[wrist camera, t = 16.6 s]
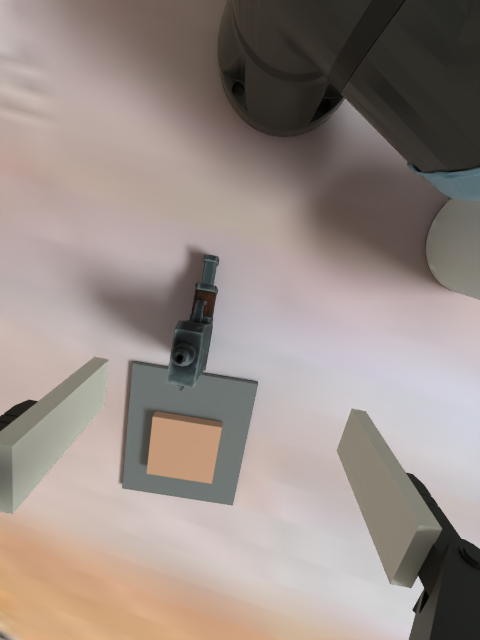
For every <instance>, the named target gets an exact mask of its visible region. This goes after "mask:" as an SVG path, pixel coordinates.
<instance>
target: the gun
mask: <svg viewBox="0 0 480 640" xmlns="http://www.w3.org/2000/svg"><path fill="white" fill-rule="evenodd" d="M204 262H205V265H204V271H203V277H202V282H201V283H197V284H196V285H195V289H196V290H195V296H194V302H193V308H192V314H190V320H187V321H179V322H178V324H177V326H176V328H175V333H174V339H173V345H172V350H171V356H170V362H169V368H168V374H167V379H166V383H169V384H175V385H177V386H179V391H182V390H183V388H184V386H187V387H193V388H194V387H195V385H196V383H197V381H198V379H199V378H200V376H201V374H202V372H203V370H205V369H206V364H207V358H208V352H209V346H210V340H211V335H212V329H213V324H212V323H213V312H214V306H215V300H216V295H217V294H218V289H217V287H216V286H214V285H213V284H214V279H215V273H216V267H217V266H218V264H219V257H217V256H213V255H207V254H205V255H204Z"/></svg>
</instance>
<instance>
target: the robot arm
mask: <svg viewBox="0 0 480 640" xmlns="http://www.w3.org/2000/svg"><path fill="white" fill-rule="evenodd" d="M218 60H219V67H220V74H221V79H222V83H223V87H224V90H225V92H226V95H227V97H228V99H229V101H230V103H231V104H232V106H233V108H234V109H235V110H236V112H237V113H238V114H239V115H240V117H241V118H242V119H243V120H244V121H246V122H247V123H248V124H249V125H251V126H252V127H254V128H255V129H257V130H259V131H261V132H263V133H266V134H269V135H274V136H282V137H288V136H296V135H300V134H304V133H306V132H309V131H311V130H313V129H315V128H317V127H318V126H320V125H321V124H322V123H324V122H325V121H326V120H327V119H329V118H330V117H331V116H332V115H333V114H334V112H335V111H336V110H337V109H338V107H339V106H340V105H341V103H342V102H343V100H344V99H346V100H347V101H348V102H349V103H350V104H351V105H352V106H353V107H354V108H355V109H356V110H357V111H358V112H359V113H360V114H361V115H362V116H363V117H364V118H365V119H366V120H367V121H368V122H369V123H370V124H371V125H372V126H373V127H374V128H375V129H376V130H377V131H378V132H379V133H380V134H381V135H382V136H383V137H384V138H385V139H386V140H387V141H388V142H389V143H390V144H391V145H392V146H393V147H394V148H395V149H396V150H397V151H398V152H399V153H400V154H401V155H402V156H403V157H404V158H405V160H406V161H407V165H408V167H409V168H410V169H411V170H412V171H413V172H414V173H416V174H418V175H420V176H423V177H424V178H425V179H426V180H428V181H429V182H430V183H431V184H432V185H433V186H434V187H435V188H436V189H437V190H439V191H440V192H441V193H442V194H444V195H446V196H448V197H450V198H457V199H459V200H465V201H478V200H480V0H228V2H227V5H226V7H225V10H224V13H223V16H222V20H221V24H220V29H219V37H218ZM108 366H109V360H108V359H103V358H98V357H94V358H92V359H91V360H90V361H89V362H87V363H86V364H85V365H84V366H82V367H81V368H80V369H79V370H77V371H76V372H75V373H74V374H72V375H71V376H70V377H68V378H67V379H66V380H65V381H63V382H62V383H61V384H60V385H58V386H57V387H56V388H55V389H53V390H52V391H51V392H50V393H48V394H47V395H46V396H44V397H43V398H42V399H41V400H39V401H33V400H27V401H25V402H22V403H20V404H17V405H15V406H13V407H12V408H11V409H9V410H8V411H7V412H5V413H4V415H1V416H0V512H5V513H11V514H13V513H14V512H15V511H16V510H17V509H18V507H19V506H20V505H21V504H22V503H23V501H24V500H25V499H26V498H27V497H28V496H29V494H30V493H31V492H32V491H33V490H34V488H35V487H36V486H37V485H38V484H39V482H40V481H41V480H42V479H43V478H44V477H45V475H46V474H47V473H48V472H49V471H50V469H51V468H52V467H53V466H54V465H55V464H56V462H57V461H58V460H59V459H60V458H61V456H62V455H63V454H64V453H65V452H66V451H67V449H68V448H69V447H70V446H71V445H72V443H73V442H74V441H75V440H76V439H77V438H78V436H79V435H80V434H81V433H82V432H83V430H84V429H85V428H86V427H87V426H88V425H89V423H90V422H91V421H92V420H93V419H94V417H95V416H96V415H97V414H98V413H99V412H100V410H101V409H102V408H103V407H104V406H105V400H106V388H107V377H108ZM337 452H338V455H339V457H340V460H341V462H342V465H343V467H344V470H345V472H346V475H347V477H348V480H349V482H350V485H351V487H352V490H353V492H354V495H355V497H356V500H357V502H358V505H359V507H360V510H361V512H362V515H363V517H364V520H365V522H366V525H367V527H368V530H369V532H370V535H371V537H372V540H373V542H374V545H375V547H376V550H377V552H378V555H379V557H380V560H381V562H382V565H383V567H384V570H385V572H386V575H387V577H388V580H389V582H390V584H393V585H398V586H404V587H409V588H412V586H413V584H414V582H415V580H416V578H417V576H419V578H420V580H421V582H422V584H423V586H424V590H423V592H422V593H421V595H420V597H419V599H418V601H417V603H416V604H415V606H414V608H413V611H414V612H415V613H416V614H415V618H414V622H413V626H412V630H411V633H410V637H409V640H480V549H479V548H478V547H476V546H475V545H474V544H472V543H470V542H468V541H466V540H464V539H461V538H460V536H459V535H458V533H457V532H456V530H455V529H454V527H453V526H452V525H451V523H450V522H449V520H448V519H447V517H446V516H445V514H444V513H443V512H442V510H441V509H440V507H438V504H437V503H436V501H435V500H434V499H433V498H432V497H431V494H430V493H429V491H428V490H427V489H426V487H425V486H424V484H423V483H422V482H421V481H419V480H418V479H417V478H416V477H415V476H414V475H413V474H410V473H406V472H405V471H404V469H403V468H402V466H401V465H400V463H399V462H398V460H397V459H396V457H395V456H394V454H393V452H392V451H391V449H390V448H389V446H388V445H387V443H386V442H385V440H384V439H383V437H382V436H381V434H380V433H379V431H378V429H377V428H376V426H375V425H374V423H373V422H372V420H371V419H370V417H369V416H368V414H367V413H366V411H361V410H357V409H352V410H351V412H350V415H349V418H348V421H347V424H346V426H345V429H344V432H343V435H342V438H341V440H340V443H339V446H338V449H337Z"/></svg>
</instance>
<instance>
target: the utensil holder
mask: <svg viewBox="0 0 480 640" xmlns="http://www.w3.org/2000/svg"><path fill="white" fill-rule="evenodd" d="M426 257H427V262H428V265H429V268H430V270H431V272H432V274H433V275H434V277H435V278H436V279H437V280H438V281H439V282H440V283H441V284H442V285H443V286H445V287H446V288H448V289H450V290H452V291H455V292H457V293H460V294H463V295H466V296H469V297H472V298H475V299H478V300H480V200H478V201H465V200H459V199H457V198H451V199H450V200H449V201H448V202H447V203H446V204H445V205H444V206H443V207H442V209H441V210H440V211H439V213H438V214H437V216H436V217H435V219H434V221H433V223H432V225H431V227H430V230H429V233H428V236H427V242H426Z"/></svg>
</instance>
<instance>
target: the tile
mask: <svg viewBox="0 0 480 640" xmlns="http://www.w3.org/2000/svg"><path fill="white" fill-rule="evenodd" d="M222 424H223V422H220V421H214V420H208V419H202V418H196V417H190V416H183V415H177V414H171V413H165V412H159V411H155V413H154V415H153V418H152V428H151V437H150V446H149V456H148V465H147V474H152V475H158V476H165V477H171V478H178V479H184V480H190V481H197V482H203V483H209V484H212V480H213V475H214V469H215V464H216V458H217V452H218V447H219V441H220V436H221V430H222Z"/></svg>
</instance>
